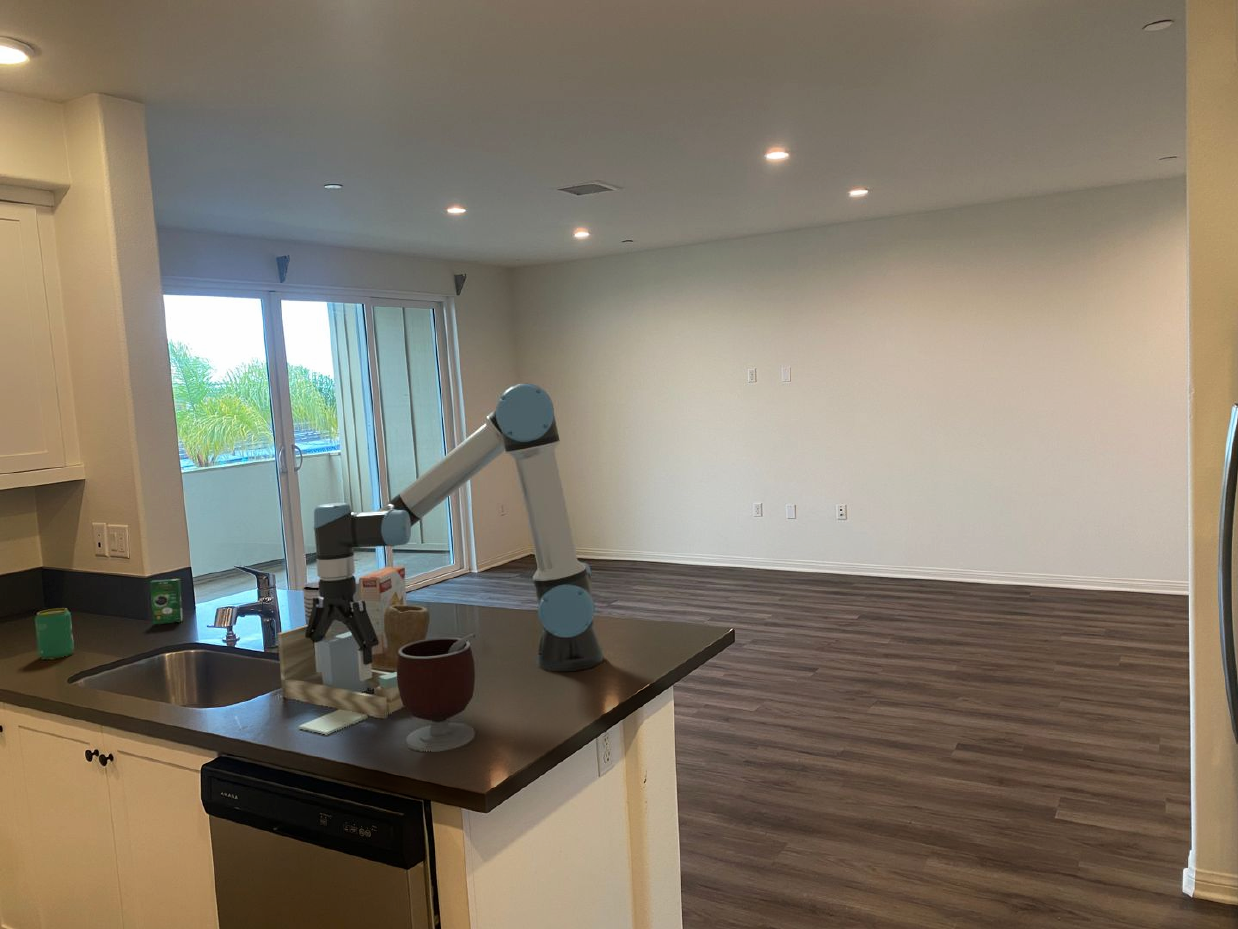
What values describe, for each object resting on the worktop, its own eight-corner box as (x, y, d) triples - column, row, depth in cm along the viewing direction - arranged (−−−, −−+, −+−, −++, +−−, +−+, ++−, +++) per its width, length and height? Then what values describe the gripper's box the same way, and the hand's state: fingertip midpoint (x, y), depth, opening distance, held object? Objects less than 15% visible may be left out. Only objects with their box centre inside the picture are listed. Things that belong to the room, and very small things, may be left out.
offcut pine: (412, 691, 187) (411, 679, 187) (391, 702, 180) (390, 690, 180) (396, 689, 188) (395, 678, 188) (374, 701, 182) (373, 689, 182)
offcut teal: (408, 682, 185) (407, 673, 184) (386, 689, 181) (385, 679, 181) (401, 680, 187) (400, 670, 187) (379, 686, 183) (378, 676, 183)
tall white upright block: (367, 690, 195) (362, 631, 194) (333, 703, 188) (329, 642, 187) (357, 688, 197) (353, 630, 196) (324, 701, 189) (319, 641, 188)
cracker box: (386, 664, 215) (380, 577, 213) (363, 663, 216) (356, 577, 214) (411, 647, 228) (405, 565, 227) (389, 647, 230) (383, 566, 228)
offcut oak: (419, 702, 187) (419, 690, 187) (389, 717, 179) (388, 704, 179) (401, 699, 190) (400, 688, 189) (370, 714, 182) (369, 702, 182)
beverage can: (78, 654, 238) (74, 610, 237) (44, 662, 232) (39, 616, 232) (69, 649, 244) (64, 606, 243) (35, 657, 238) (30, 612, 237)
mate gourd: (386, 749, 161) (378, 640, 159) (429, 722, 174) (422, 620, 172) (461, 758, 155) (454, 644, 154) (500, 728, 168) (493, 623, 167)
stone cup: (443, 664, 212) (439, 601, 211) (412, 679, 201) (408, 613, 200) (391, 659, 218) (386, 598, 217) (358, 674, 207) (353, 610, 206)
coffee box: (184, 620, 272) (180, 577, 271) (182, 622, 269) (178, 579, 268) (155, 623, 270) (151, 580, 269) (152, 625, 267) (148, 582, 266)
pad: (367, 718, 178) (367, 715, 178) (326, 735, 169) (326, 732, 169) (340, 712, 182) (340, 709, 182) (299, 729, 174) (298, 726, 174)
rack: (430, 698, 188) (426, 632, 187) (383, 719, 177) (378, 649, 176) (331, 679, 204) (326, 619, 203) (282, 697, 193) (277, 633, 192)
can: (306, 621, 262) (303, 581, 261) (347, 616, 265) (344, 576, 264) (305, 630, 251) (301, 588, 250) (347, 625, 254) (344, 583, 253)
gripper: (391, 577, 187) (398, 677, 188) (312, 569, 200) (319, 662, 202) (363, 584, 180) (371, 688, 182) (283, 576, 194) (291, 672, 195)
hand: (343, 675), depth 192 cm, fingers open, 13 cm apart
